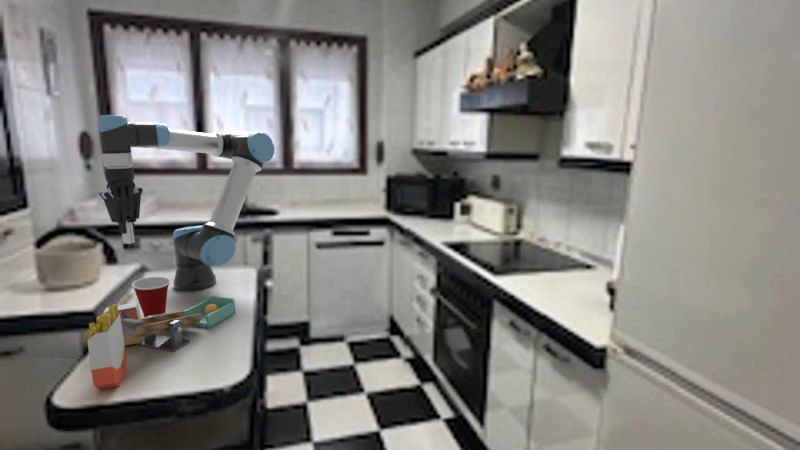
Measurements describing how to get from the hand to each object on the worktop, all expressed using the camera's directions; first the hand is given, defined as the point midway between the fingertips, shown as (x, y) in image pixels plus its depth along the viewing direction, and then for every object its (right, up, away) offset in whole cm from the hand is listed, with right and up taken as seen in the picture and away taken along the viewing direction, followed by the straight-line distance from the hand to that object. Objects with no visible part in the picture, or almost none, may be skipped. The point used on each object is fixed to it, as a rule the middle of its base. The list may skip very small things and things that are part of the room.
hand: (129, 242), depth 137 cm
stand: (+19, -28, -15) cm, 37 cm away
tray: (+25, -24, +2) cm, 35 cm away
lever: (+15, -23, -14) cm, 31 cm away
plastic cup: (+6, -24, +4) cm, 25 cm away
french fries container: (+17, -32, -33) cm, 49 cm away
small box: (+9, -28, -14) cm, 32 cm away
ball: (+25, -22, +3) cm, 33 cm away
